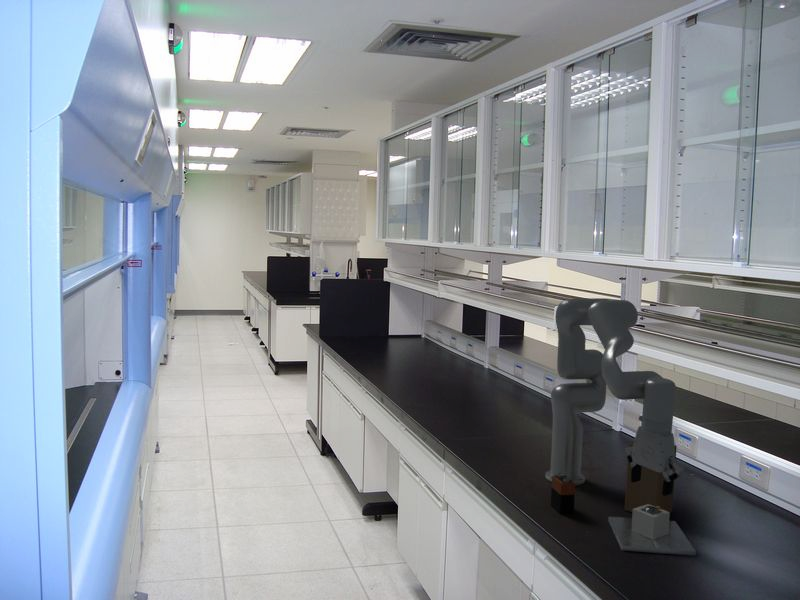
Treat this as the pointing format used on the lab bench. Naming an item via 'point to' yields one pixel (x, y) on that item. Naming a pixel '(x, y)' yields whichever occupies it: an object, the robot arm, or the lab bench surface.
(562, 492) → the battery
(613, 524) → the plate
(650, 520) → the gray square frame
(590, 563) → the lab bench surface
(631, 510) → the wooden block
